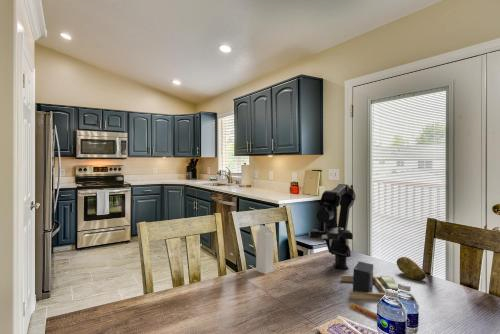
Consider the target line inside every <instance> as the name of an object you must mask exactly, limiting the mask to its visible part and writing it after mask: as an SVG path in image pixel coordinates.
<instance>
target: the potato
mask: <svg viewBox="0 0 500 334" xmlns="http://www.w3.org/2000/svg"><path fill="white" fill-rule="evenodd" d="M396 266H397V268H398V269H399V271H400V272H402V273H403V275H404V276H405V277H406V278H409V279H412V280H414V281H422V280H426V277H427V276H426V272H425V271H424V270H423V269H422V267H420V266H419V265H418V264H417V263H416V262H415V261H414V260H412V259H411V258H409V257H407V256H400V257H399V258H397V260H396Z"/></svg>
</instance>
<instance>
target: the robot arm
mask: <svg viewBox="0 0 500 334" xmlns="http://www.w3.org/2000/svg"><path fill="white" fill-rule="evenodd" d="M356 198H357V196H356V192H355V190H354V189H352V188H351V187H350V186H349V184H346V183H339V184H337V186H336V187H334V188H333V189H331V190H324V192H323V193H322V194H321V198H320V201H319V204H318V206H319V207H321V209H319V210H318V211H317V213H316V218H317V221H318V222H319V223H320V224H321V223H323V231H321V230H319V229H318V228H310V229H309V230H308V236H309V238H312V239H318V238H319V237H321V239H322V240H323V241H325V245H326V248H327V250H328V253H329V254H331V255H334V262H332V265H333V268H334V269H337V270H338V269H340V270H349V267H348V265H347V263H348V261H347V260H348V259H347V258H351V257H352V255H351V253H352V252H351V248H350V245H349V244H350V243H349V240H353V239H354V238H353V237H354V236H353V233H352V232H351V230H349V229H348V224H349V217H350V209H351V208H352V207H353V206H354V202H355V201H356ZM338 207H340V209H339V215H338Z"/></svg>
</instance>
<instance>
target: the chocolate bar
mask: <svg viewBox="0 0 500 334" xmlns="http://www.w3.org/2000/svg"><path fill="white" fill-rule="evenodd" d="M349 309H352V310H353V311H356V312H357V313H360V314H361V315H364V316H365V317H368V318H370V319H372V320H373V321H376V322H378V321H377V313H376V312H373V311H371V310H369V309H367V308H365V307H363V306H361V305H359V304H356V303H355V302H352V301H351V302H350V304H349Z"/></svg>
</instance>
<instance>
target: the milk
mask: <svg viewBox="0 0 500 334" xmlns="http://www.w3.org/2000/svg"><path fill="white" fill-rule="evenodd" d="M274 233H275V232H274V231H272V230H271V227H270V226H267V225H263V224H260V228H259V229H258V230H257V231H256V246H255V247H256V249H255V250H256V253H255V254H256V255H255V256H256V257H255V259H256V260H255V271H256V272H258V273H261V274H264V275H267V274H269V273H271V272H273V271H274V247H275V246H274V242H275V241H274V240H275V239H274V235H275V234H274Z"/></svg>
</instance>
